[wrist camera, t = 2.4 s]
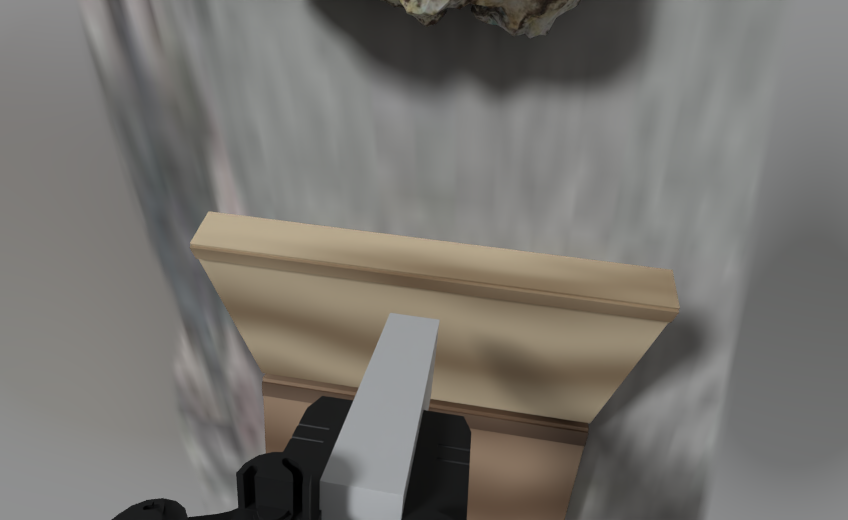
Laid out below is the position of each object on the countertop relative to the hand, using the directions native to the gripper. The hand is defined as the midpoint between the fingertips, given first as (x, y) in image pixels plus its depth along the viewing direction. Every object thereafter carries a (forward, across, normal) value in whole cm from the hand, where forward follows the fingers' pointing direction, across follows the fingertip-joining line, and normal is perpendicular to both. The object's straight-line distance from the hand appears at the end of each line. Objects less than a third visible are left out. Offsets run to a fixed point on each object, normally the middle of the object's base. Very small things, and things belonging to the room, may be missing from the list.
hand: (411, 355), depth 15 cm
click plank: (+6, 0, -2) cm, 6 cm away
